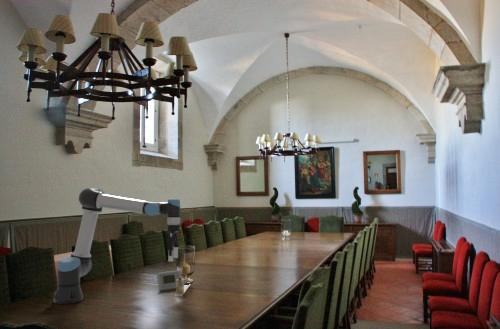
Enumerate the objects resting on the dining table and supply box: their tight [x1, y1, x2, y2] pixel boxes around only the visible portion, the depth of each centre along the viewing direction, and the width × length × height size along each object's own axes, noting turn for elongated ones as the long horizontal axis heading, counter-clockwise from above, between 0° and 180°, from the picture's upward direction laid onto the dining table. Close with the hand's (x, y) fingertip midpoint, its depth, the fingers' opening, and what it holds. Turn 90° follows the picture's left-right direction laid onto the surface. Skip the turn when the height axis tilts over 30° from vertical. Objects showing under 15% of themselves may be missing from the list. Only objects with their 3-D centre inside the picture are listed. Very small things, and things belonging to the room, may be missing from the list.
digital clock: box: [156, 269, 182, 291], centre depth 258 cm, size 16×9×11 cm, turn 117°
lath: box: [174, 284, 192, 297], centre depth 256 cm, size 4×36×1 cm, turn 179°
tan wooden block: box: [175, 276, 185, 295], centre depth 243 cm, size 4×4×9 cm
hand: (173, 259), depth 247 cm, fingers open, 13 cm apart
